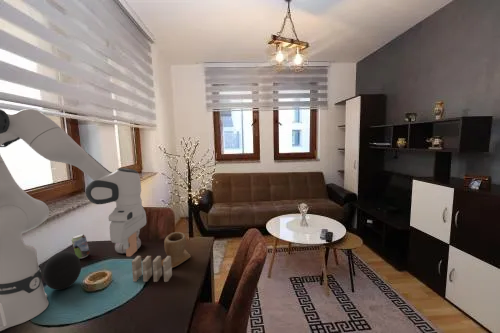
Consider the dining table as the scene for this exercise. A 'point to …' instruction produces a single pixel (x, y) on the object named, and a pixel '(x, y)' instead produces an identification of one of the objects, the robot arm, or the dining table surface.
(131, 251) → the domino
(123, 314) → the dining table surface
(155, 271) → the domino
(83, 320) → the dining table surface
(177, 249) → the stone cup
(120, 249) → the sea urchin shell
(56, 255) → the decorative egg
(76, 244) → the beverage can
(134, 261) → the domino
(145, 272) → the domino
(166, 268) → the domino
